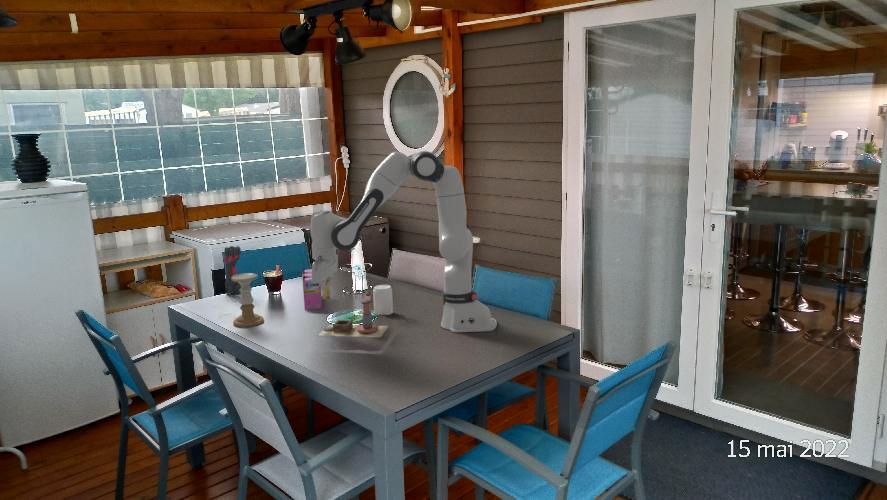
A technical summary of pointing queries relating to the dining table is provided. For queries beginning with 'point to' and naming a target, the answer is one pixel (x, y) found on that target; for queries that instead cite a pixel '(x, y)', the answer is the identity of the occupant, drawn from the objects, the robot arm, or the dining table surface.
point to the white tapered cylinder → (383, 300)
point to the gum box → (311, 291)
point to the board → (355, 332)
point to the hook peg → (326, 291)
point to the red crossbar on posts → (367, 316)
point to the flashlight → (232, 269)
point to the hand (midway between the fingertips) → (326, 288)
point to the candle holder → (246, 302)
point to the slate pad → (328, 329)
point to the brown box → (342, 326)
